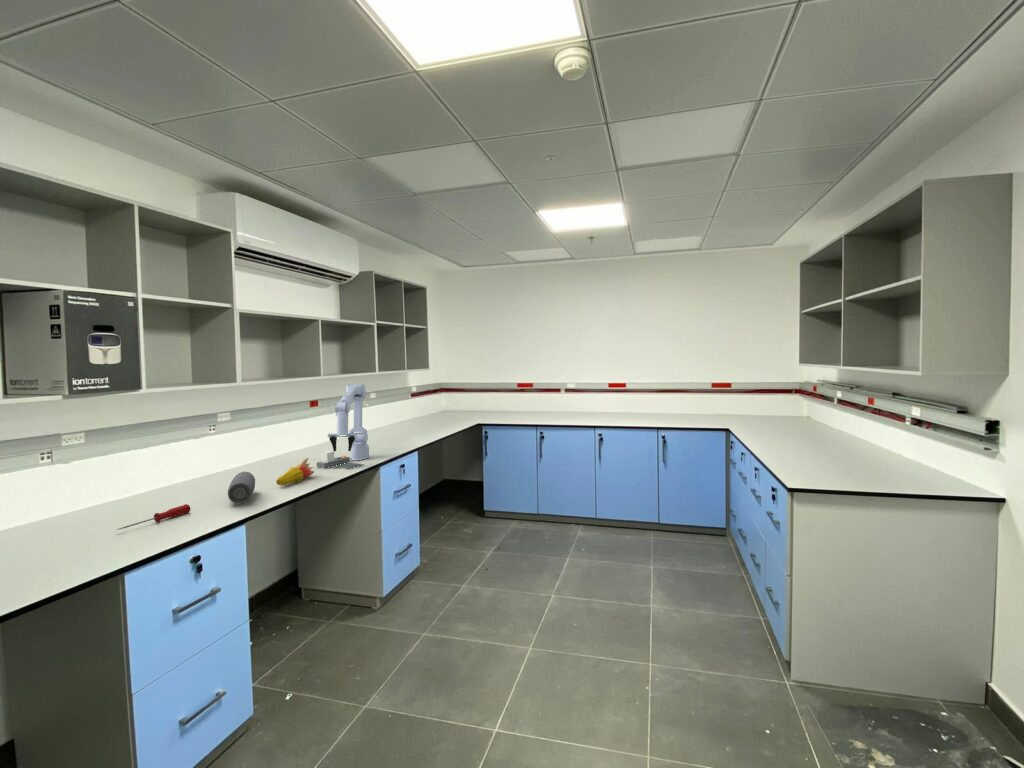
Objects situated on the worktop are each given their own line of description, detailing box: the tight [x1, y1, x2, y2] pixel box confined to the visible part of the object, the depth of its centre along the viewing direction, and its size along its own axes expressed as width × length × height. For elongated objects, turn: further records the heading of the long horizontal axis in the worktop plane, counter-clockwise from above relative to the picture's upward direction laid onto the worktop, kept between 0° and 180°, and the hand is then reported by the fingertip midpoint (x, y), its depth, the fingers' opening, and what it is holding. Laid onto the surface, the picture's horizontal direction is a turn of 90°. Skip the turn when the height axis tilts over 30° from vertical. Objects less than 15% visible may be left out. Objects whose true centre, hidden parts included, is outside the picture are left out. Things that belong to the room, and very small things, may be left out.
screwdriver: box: [115, 503, 191, 531], centre depth 177 cm, size 4×25×4 cm, turn 160°
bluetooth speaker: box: [227, 471, 256, 504], centre depth 206 cm, size 23×9×10 cm, turn 24°
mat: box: [332, 462, 364, 470], centre depth 268 cm, size 11×11×1 cm
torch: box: [276, 457, 315, 486], centre depth 235 cm, size 8×8×25 cm
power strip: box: [316, 455, 351, 469], centre depth 272 cm, size 18×6×4 cm, turn 154°
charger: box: [320, 450, 335, 462], centre depth 268 cm, size 5×4×6 cm
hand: (342, 451), depth 258 cm, fingers open, 7 cm apart
